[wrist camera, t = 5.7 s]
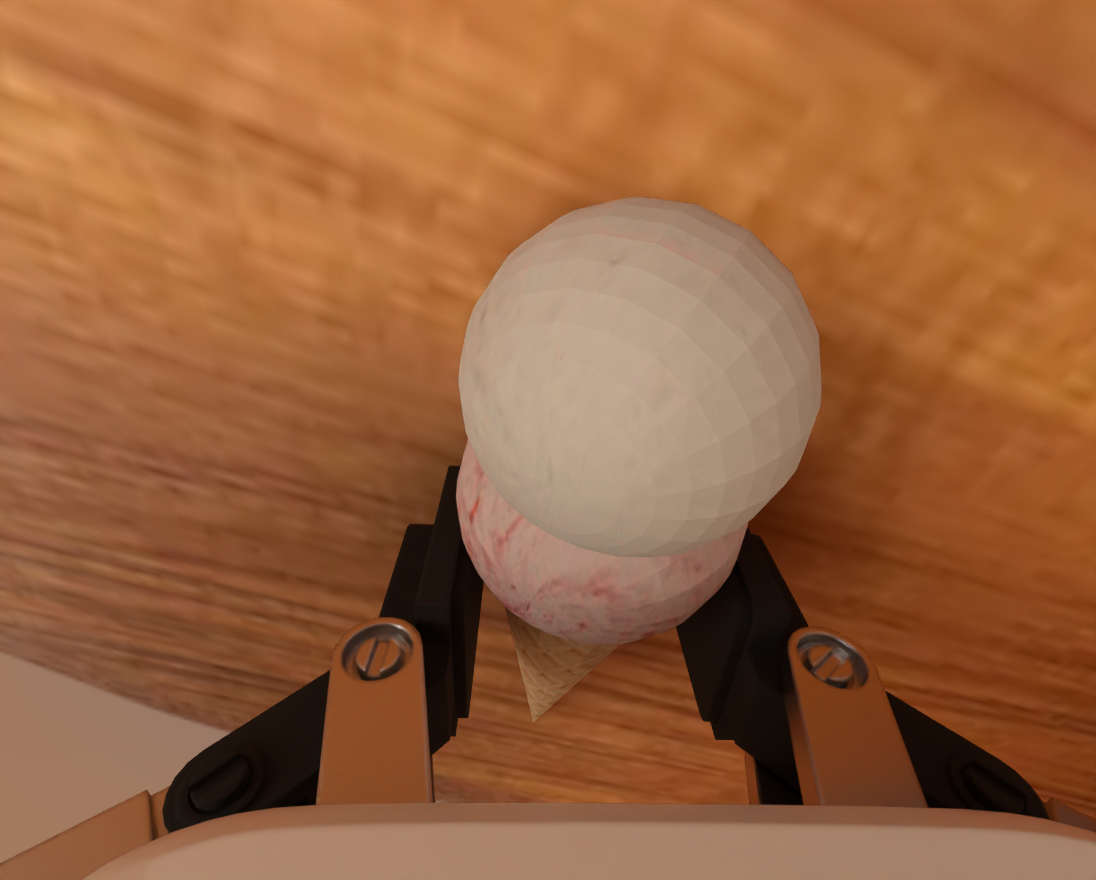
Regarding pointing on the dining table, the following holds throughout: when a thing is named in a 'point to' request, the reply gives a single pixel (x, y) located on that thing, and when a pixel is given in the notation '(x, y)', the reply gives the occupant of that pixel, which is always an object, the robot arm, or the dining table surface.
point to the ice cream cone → (626, 424)
